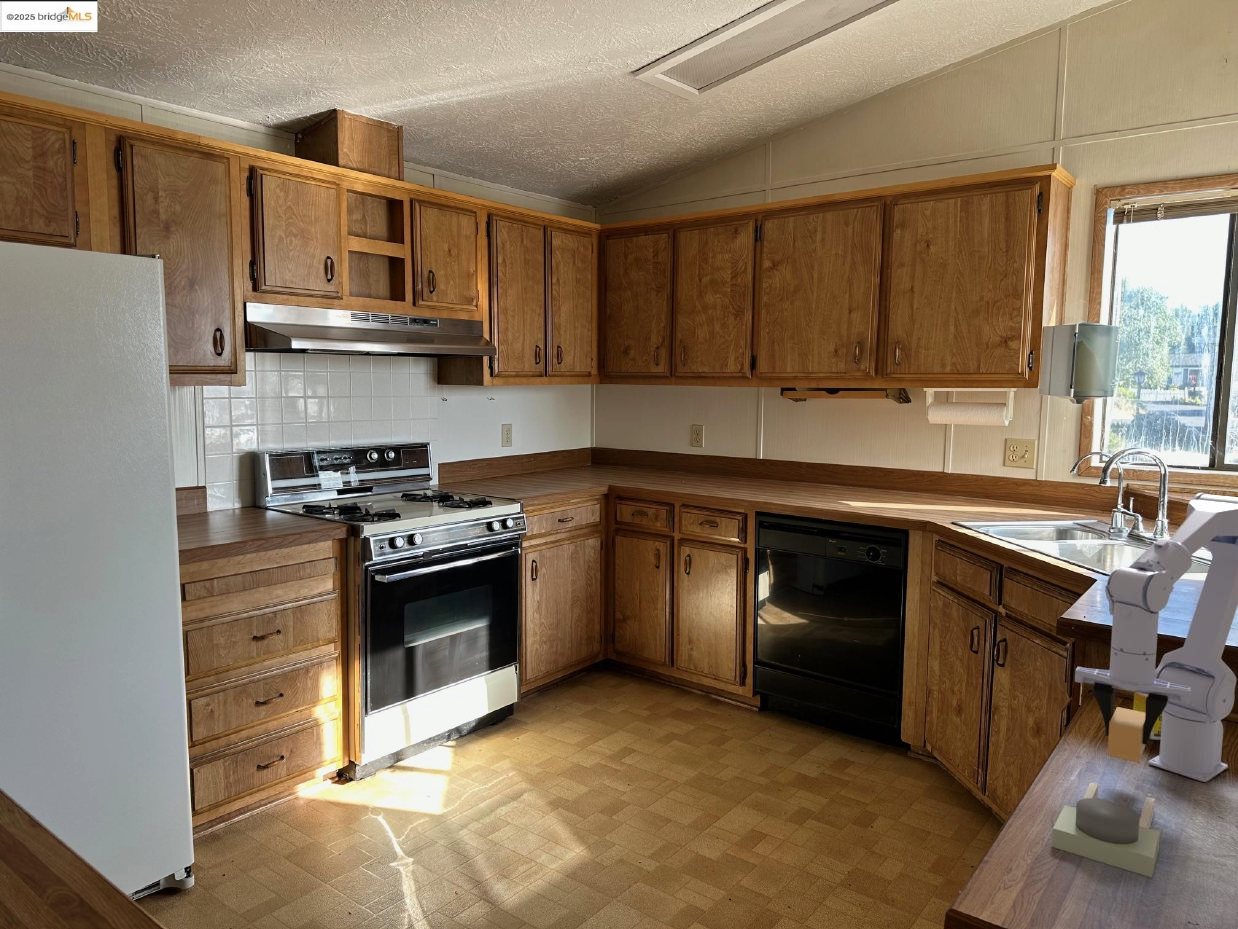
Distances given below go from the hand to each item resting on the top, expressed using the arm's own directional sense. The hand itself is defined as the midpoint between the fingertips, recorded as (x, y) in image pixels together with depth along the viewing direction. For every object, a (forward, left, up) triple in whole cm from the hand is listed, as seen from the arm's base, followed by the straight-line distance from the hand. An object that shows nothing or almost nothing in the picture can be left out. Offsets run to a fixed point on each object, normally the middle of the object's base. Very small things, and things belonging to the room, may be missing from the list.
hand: (1127, 738), depth 124 cm
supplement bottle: (-26, -7, -8) cm, 28 cm away
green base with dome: (+15, +5, -8) cm, 18 cm away
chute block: (0, 0, -2) cm, 2 cm away
